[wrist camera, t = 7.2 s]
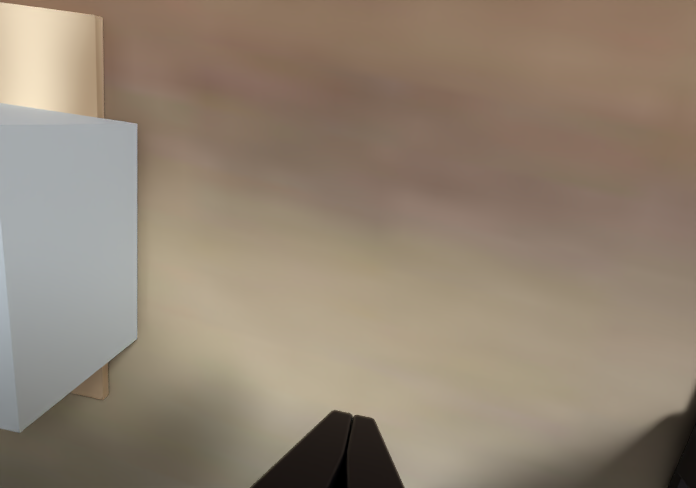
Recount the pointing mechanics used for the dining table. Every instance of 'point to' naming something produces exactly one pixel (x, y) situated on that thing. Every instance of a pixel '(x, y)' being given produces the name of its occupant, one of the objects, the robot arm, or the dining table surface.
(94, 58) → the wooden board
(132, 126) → the light blue rectangular block
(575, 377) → the dining table surface
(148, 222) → the dining table surface
